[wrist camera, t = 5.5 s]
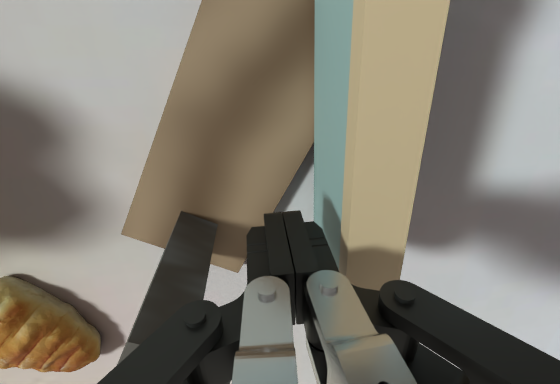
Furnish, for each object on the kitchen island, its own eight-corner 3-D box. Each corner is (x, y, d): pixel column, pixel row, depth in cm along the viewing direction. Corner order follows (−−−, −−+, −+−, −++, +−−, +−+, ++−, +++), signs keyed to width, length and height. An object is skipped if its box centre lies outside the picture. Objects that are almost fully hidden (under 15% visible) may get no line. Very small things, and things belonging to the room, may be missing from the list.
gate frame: (421, -56, 14) (685, -192, 6) (238, 263, 22) (227, 414, 14) (267, -177, 12) (300, -713, 3) (126, 225, 20) (28, 375, 12)
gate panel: (355, -26, 13) (465, -87, 6) (341, 234, 20) (387, 346, 13) (310, -24, 13) (371, -83, 6) (310, 237, 20) (340, 350, 13)
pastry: (125, 321, 25) (104, 367, 21) (82, 362, 27) (58, 410, 24) (3, 263, 21) (-45, 307, 18) (-35, 314, 23) (-84, 363, 20)
